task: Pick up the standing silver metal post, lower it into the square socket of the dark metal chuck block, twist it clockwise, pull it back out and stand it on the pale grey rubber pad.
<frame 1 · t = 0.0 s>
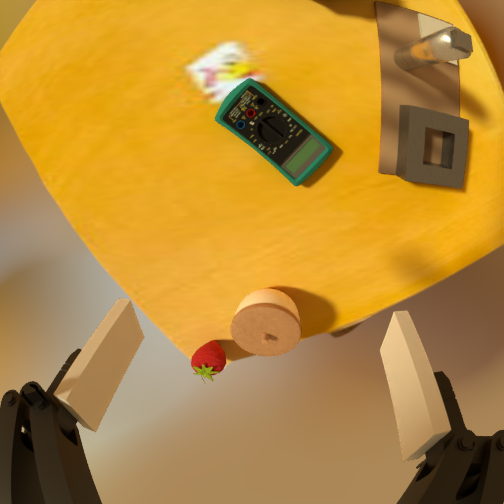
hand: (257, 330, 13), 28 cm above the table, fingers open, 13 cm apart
strawberry: (214, 341, 54), on the table
board: (422, 90, 28), on the table
silver metal post: (404, 59, 26), point 1 cm above the table, touching board
chuck block: (428, 144, 31), resting on board
digital multimeter: (274, 130, 35), on the table
lidded jar: (269, 301, 48), on the table
pad: (437, 39, 23), resting on board
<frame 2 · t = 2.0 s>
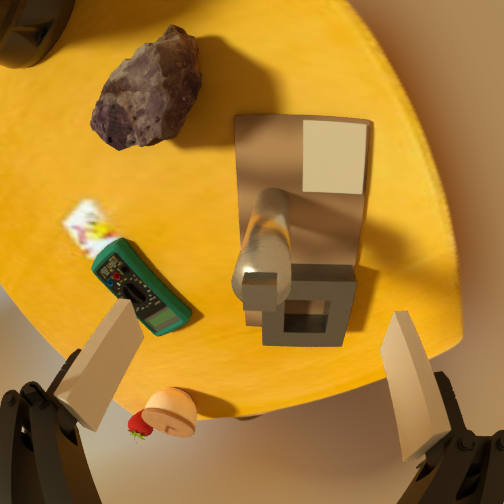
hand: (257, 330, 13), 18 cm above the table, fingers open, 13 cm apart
strawberry: (147, 408, 57), on the table
rock: (170, 92, 24), on the table
board: (300, 237, 30), on the table
silver metal post: (272, 203, 28), point 1 cm above the table, touching board
chuck block: (305, 298, 33), resting on board
digital multimeter: (144, 284, 37), on the table
lidded jar: (177, 394, 50), on the table
pad: (333, 156, 25), resting on board
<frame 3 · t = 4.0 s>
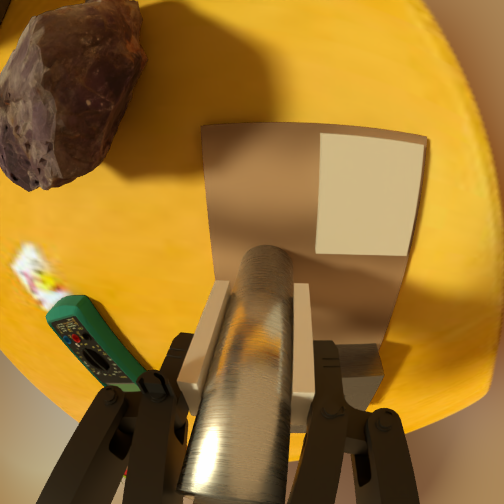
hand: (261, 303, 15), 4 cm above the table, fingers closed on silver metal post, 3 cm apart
rock: (108, 92, 14), on the table
board: (308, 311, 20), on the table
silver metal post: (266, 268, 18), point 1 cm above the table, touching board, gripper
chuck block: (310, 379, 23), resting on board
digital multimeter: (108, 346, 27), on the table
pad: (368, 196, 15), resting on board
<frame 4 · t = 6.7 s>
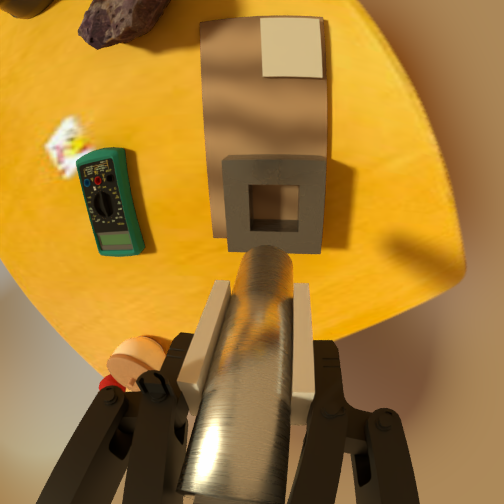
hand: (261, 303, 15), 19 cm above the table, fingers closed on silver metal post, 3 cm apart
strawberry: (121, 371, 54), on the table
rock: (148, 13, 21), on the table
board: (265, 126, 27), on the table
silver metal post: (266, 268, 18), point 15 cm above the table, touching gripper
chuck block: (275, 198, 30), resting on board
digital multimeter: (115, 201, 34), on the table
lidded jar: (149, 346, 47), on the table
pad: (291, 47, 22), resting on board
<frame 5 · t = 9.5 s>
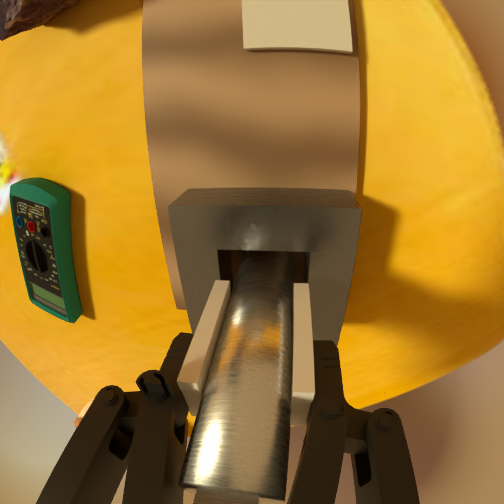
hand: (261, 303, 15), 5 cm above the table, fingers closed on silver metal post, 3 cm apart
board: (249, 137, 16), on the table
silver metal post: (267, 266, 18), point 1 cm above the table, touching gripper
chuck block: (267, 259, 19), resting on board
digital multimeter: (53, 247, 23), on the table
pad: (295, 0, 11), resting on board
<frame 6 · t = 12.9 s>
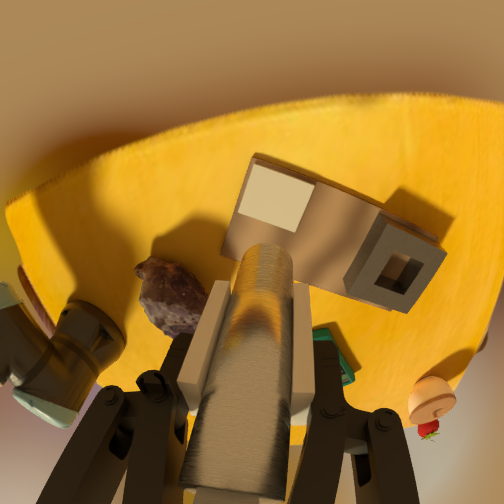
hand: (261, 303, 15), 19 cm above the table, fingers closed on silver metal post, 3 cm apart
strawberry: (424, 410, 52), on the table
rock: (185, 281, 39), on the table
board: (335, 243, 33), on the table
silver metal post: (267, 266, 18), point 15 cm above the table, touching gripper
chuck block: (391, 259, 33), resting on board
digital multimeter: (322, 357, 44), on the table
lidded jar: (425, 383, 46), on the table
pad: (275, 197, 31), resting on board
when the fingers open (6 cm above the table, at t = 15.5 s): silver metal post stays where it is, resting on pad.
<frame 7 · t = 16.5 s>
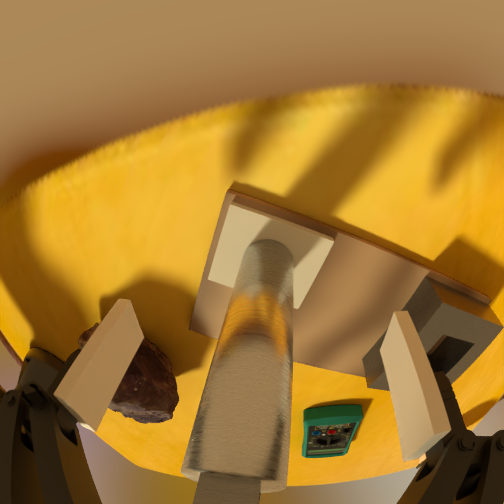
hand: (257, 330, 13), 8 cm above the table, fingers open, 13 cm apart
rock: (147, 350, 27), on the table
board: (357, 317, 22), on the table
silver metal post: (267, 262, 19), point 1 cm above the table, touching pad
chuck block: (430, 333, 21), resting on board
digital multimeter: (328, 425, 33), on the table
pad: (268, 257, 19), resting on board
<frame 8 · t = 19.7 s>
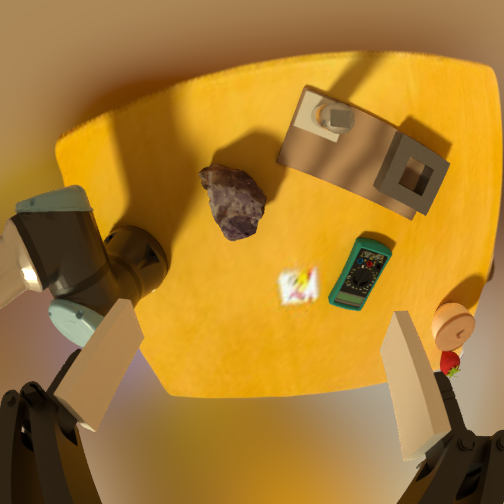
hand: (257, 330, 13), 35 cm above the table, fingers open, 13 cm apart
strawberry: (443, 349, 59), on the table
rock: (238, 190, 46), on the table
board: (365, 155, 40), on the table
silver metal post: (322, 116, 37), point 1 cm above the table, touching pad
chuck block: (408, 171, 39), resting on board
digital multimeter: (357, 272, 51), on the table
lidded jar: (444, 312, 53), on the table
pad: (321, 116, 37), resting on board
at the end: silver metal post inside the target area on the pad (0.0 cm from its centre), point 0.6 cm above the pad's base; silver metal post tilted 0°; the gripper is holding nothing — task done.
